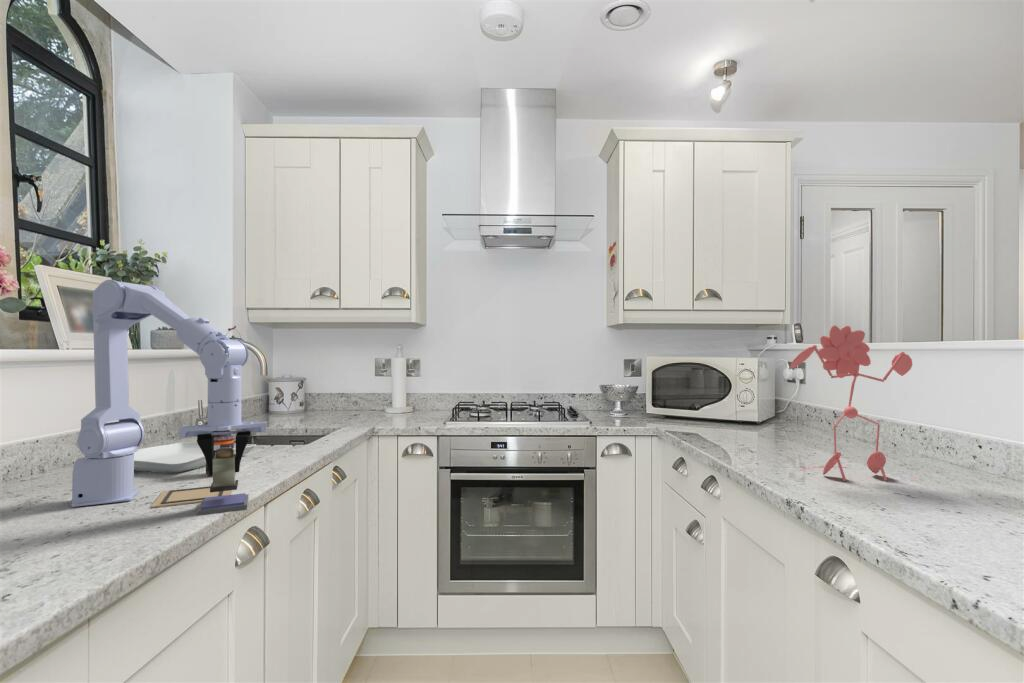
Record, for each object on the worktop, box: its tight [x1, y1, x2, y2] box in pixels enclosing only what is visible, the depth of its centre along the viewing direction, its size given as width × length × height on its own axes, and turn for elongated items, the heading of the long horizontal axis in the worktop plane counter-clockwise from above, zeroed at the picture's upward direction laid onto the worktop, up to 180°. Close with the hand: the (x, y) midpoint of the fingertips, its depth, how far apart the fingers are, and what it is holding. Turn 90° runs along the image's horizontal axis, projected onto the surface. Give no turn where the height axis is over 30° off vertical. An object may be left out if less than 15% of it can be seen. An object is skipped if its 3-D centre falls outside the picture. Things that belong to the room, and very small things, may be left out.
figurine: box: [788, 325, 916, 482], centre depth 121 cm, size 15×26×35 cm, turn 90°
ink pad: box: [196, 492, 249, 516], centre depth 98 cm, size 8×8×1 cm
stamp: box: [210, 448, 239, 493], centre depth 98 cm, size 4×4×7 cm
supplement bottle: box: [205, 430, 235, 477], centre depth 125 cm, size 6×6×11 cm
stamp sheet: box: [150, 485, 232, 509], centre depth 105 cm, size 13×12×1 cm
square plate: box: [134, 441, 257, 473], centre depth 138 cm, size 27×27×4 cm
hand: (224, 472), depth 98 cm, fingers closed on stamp, 4 cm apart
